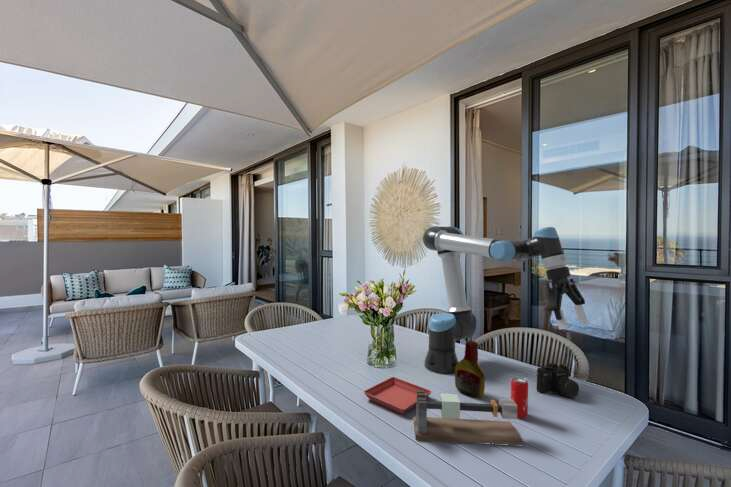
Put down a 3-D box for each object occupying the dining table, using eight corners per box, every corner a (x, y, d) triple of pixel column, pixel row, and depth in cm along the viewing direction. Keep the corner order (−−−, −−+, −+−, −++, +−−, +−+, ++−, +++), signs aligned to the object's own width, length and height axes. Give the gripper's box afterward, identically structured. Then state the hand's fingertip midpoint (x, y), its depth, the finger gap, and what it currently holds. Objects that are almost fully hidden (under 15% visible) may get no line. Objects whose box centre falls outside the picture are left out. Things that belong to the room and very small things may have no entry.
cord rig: (413, 420, 108) (414, 388, 108) (510, 426, 105) (511, 393, 105) (415, 439, 98) (415, 404, 98) (522, 446, 95) (523, 409, 95)
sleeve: (440, 409, 105) (440, 393, 104) (456, 410, 104) (456, 394, 104) (442, 418, 100) (442, 401, 99) (459, 419, 99) (460, 402, 99)
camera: (554, 402, 121) (555, 374, 121) (532, 389, 131) (533, 363, 131) (585, 397, 125) (586, 371, 125) (561, 385, 135) (562, 360, 135)
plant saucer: (432, 399, 123) (432, 390, 123) (403, 419, 110) (403, 409, 109) (392, 384, 135) (392, 376, 135) (362, 400, 122) (362, 391, 122)
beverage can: (512, 409, 115) (513, 375, 115) (529, 414, 112) (530, 379, 112) (508, 415, 111) (509, 380, 111) (525, 421, 108) (525, 384, 108)
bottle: (488, 397, 124) (489, 343, 124) (478, 402, 120) (479, 347, 120) (461, 385, 134) (462, 335, 133) (451, 390, 130) (452, 338, 129)
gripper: (546, 268, 116) (565, 331, 111) (583, 263, 129) (601, 319, 124) (527, 272, 122) (544, 332, 117) (564, 267, 135) (580, 321, 130)
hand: (573, 326), depth 121 cm, fingers open, 13 cm apart
